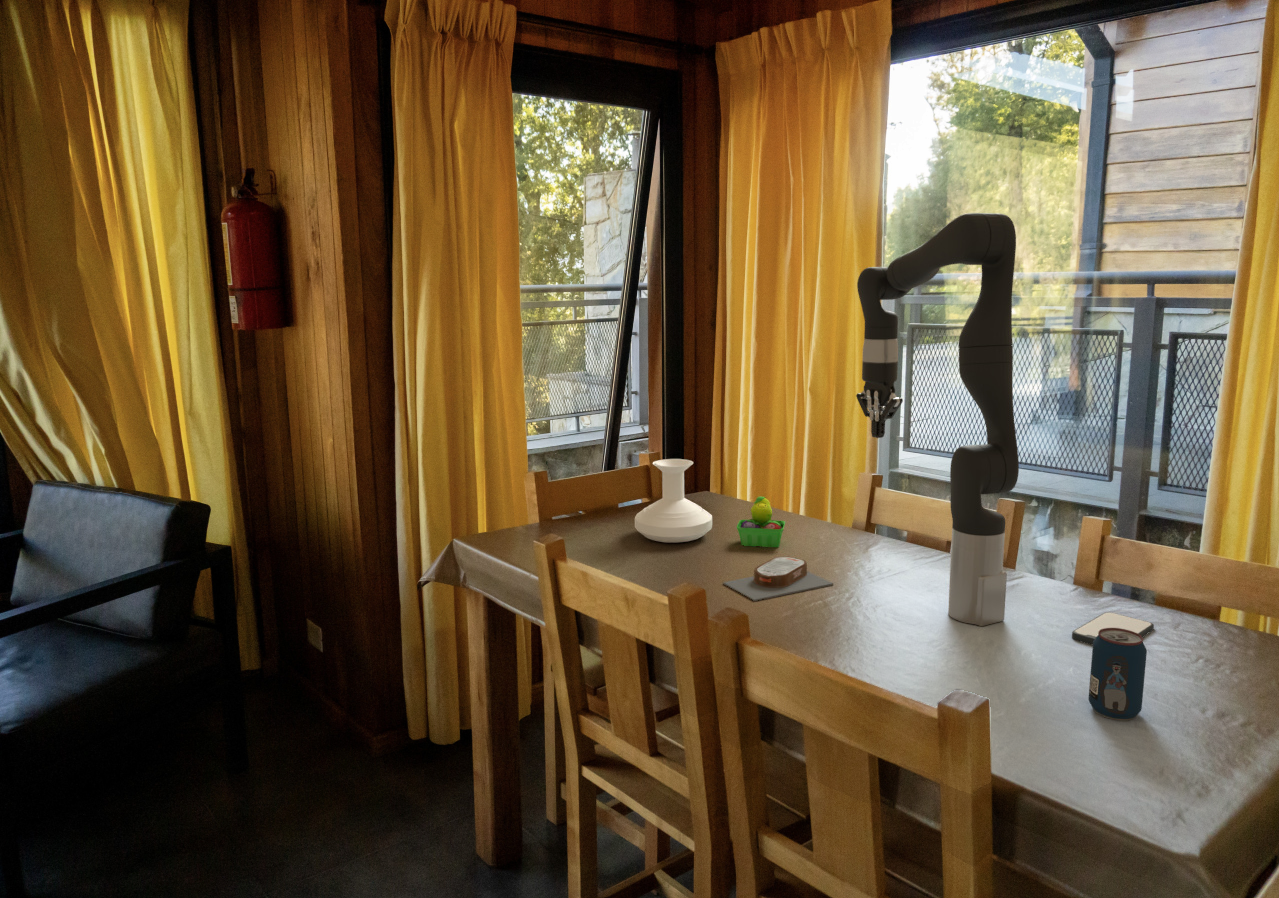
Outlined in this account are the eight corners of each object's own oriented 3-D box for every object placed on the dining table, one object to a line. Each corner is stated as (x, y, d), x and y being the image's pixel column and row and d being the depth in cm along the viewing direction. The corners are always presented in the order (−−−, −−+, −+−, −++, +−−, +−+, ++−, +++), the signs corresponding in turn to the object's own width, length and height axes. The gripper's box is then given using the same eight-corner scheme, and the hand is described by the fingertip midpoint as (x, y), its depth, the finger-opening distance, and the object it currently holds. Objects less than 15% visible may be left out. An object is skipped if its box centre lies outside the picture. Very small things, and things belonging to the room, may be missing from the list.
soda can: (1123, 699, 133) (1130, 625, 131) (1151, 722, 126) (1158, 643, 124) (1078, 701, 133) (1084, 626, 131) (1104, 723, 126) (1110, 645, 124)
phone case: (1105, 618, 166) (1068, 640, 156) (1105, 610, 166) (1069, 631, 156) (1156, 631, 160) (1121, 655, 149) (1156, 623, 159) (1122, 646, 149)
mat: (833, 584, 186) (833, 583, 185) (754, 601, 177) (754, 599, 177) (799, 569, 196) (799, 567, 196) (723, 584, 188) (723, 582, 187)
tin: (746, 582, 187) (781, 593, 182) (747, 568, 186) (782, 578, 181) (779, 564, 198) (813, 573, 194) (780, 551, 198) (814, 560, 193)
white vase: (622, 532, 228) (620, 460, 225) (689, 522, 237) (689, 452, 233) (655, 552, 211) (654, 474, 207) (727, 541, 219) (727, 465, 215)
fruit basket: (736, 547, 214) (736, 502, 211) (740, 537, 222) (740, 493, 220) (783, 549, 211) (783, 504, 209) (785, 539, 219) (786, 495, 217)
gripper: (914, 360, 188) (911, 440, 191) (873, 356, 199) (870, 431, 202) (887, 362, 184) (885, 443, 188) (846, 358, 196) (845, 434, 199)
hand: (877, 437), depth 195 cm, fingers closed
